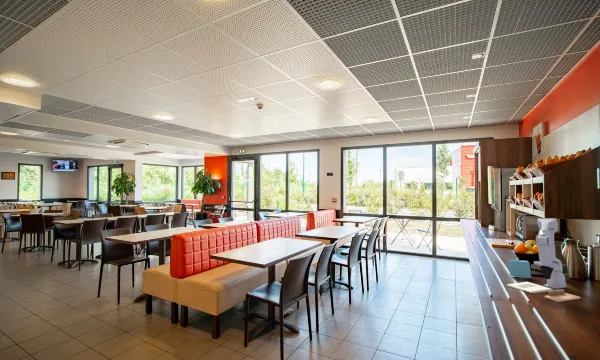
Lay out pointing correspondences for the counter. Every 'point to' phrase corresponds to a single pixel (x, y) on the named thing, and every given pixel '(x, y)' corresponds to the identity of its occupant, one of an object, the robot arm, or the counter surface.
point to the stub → (560, 296)
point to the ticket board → (529, 287)
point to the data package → (519, 268)
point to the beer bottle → (562, 261)
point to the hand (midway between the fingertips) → (547, 278)
